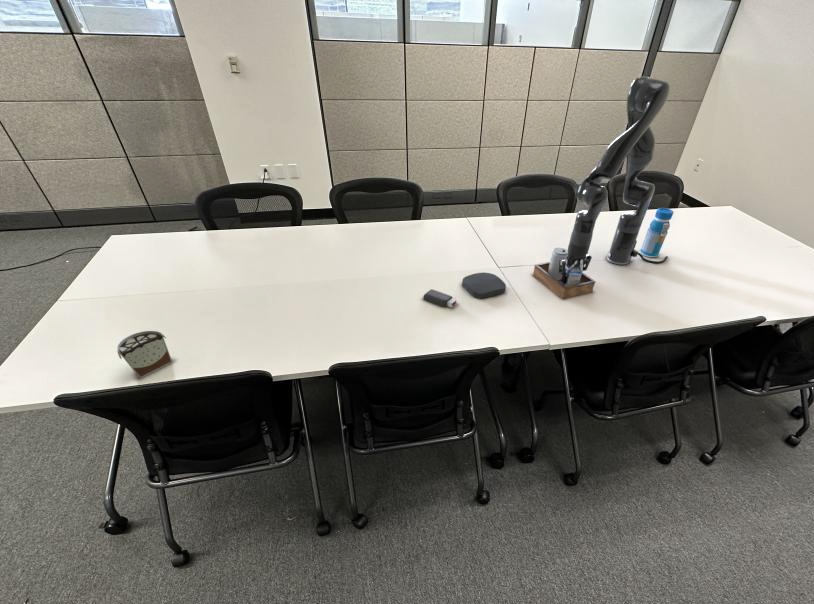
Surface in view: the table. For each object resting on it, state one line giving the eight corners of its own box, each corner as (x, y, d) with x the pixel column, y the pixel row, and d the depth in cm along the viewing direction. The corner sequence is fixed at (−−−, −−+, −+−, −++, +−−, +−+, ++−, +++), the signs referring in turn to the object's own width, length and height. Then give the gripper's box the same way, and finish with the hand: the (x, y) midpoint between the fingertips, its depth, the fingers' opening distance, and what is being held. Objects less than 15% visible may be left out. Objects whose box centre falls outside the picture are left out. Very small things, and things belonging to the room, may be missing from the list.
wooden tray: (561, 269, 179) (563, 258, 175) (592, 292, 165) (595, 281, 162) (532, 275, 174) (534, 264, 171) (562, 299, 160) (565, 288, 157)
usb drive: (430, 293, 159) (431, 287, 158) (457, 303, 155) (458, 296, 153) (423, 299, 156) (423, 293, 154) (450, 309, 152) (450, 302, 150)
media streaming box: (476, 300, 157) (477, 293, 155) (458, 283, 166) (458, 276, 164) (509, 292, 162) (510, 285, 160) (489, 276, 172) (490, 269, 170)
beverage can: (562, 282, 170) (569, 254, 162) (546, 280, 171) (552, 252, 163) (562, 275, 175) (568, 248, 166) (547, 273, 175) (552, 246, 167)
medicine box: (560, 281, 169) (565, 261, 163) (571, 281, 169) (576, 261, 163) (566, 291, 163) (571, 271, 157) (577, 291, 164) (582, 271, 158)
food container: (166, 351, 128) (151, 324, 121) (177, 359, 125) (163, 332, 119) (124, 372, 120) (106, 344, 113) (135, 381, 118) (117, 353, 111)
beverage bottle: (638, 255, 192) (655, 211, 178) (639, 248, 197) (655, 205, 184) (658, 259, 189) (675, 215, 176) (658, 252, 195) (675, 208, 182)
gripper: (570, 248, 149) (560, 290, 160) (602, 242, 153) (590, 283, 165) (558, 239, 154) (549, 281, 165) (589, 234, 158) (578, 274, 170)
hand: (569, 281), depth 165 cm, fingers closed on medicine box, 5 cm apart
